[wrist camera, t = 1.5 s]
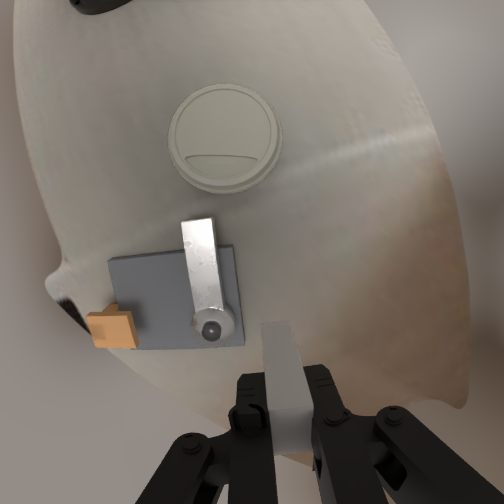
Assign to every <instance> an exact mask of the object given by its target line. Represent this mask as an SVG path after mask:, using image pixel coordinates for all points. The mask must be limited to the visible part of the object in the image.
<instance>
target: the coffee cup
mask: <svg viewBox="0 0 504 504" xmlns="http://www.w3.org/2000/svg"><path fill="white" fill-rule="evenodd" d="M282 141H283V134H282V127H281V123H280V120H279V118H278V115H277V113H276V111H275V110H274V108H273V107H272V105H271V104H270V103H269V102H268V101H267V100H266V99H265V98H264V97H263V96H262V95H260V94H259V93H257V92H256V91H254V90H252V89H250V88H247V87H245V86H241V85H236V84H226V83H223V84H214V85H210V86H207V87H204V88H202V89H200V90H198V91H196V92H194V93H193V94H191V95H190V96H189V97H187V98H186V99H185V100H184V101H183V102H182V104H181V105H180V106H179V107H178V109H177V110H176V112H175V114H174V116H173V118H172V120H171V123H170V126H169V130H168V150H169V154H170V157H171V160H172V162H173V164H174V166H175V168H176V169H177V171H178V172H179V173H180V175H181V176H182V177H183V178H184V179H185V180H186V181H188V182H189V183H190V184H192V185H193V186H195V187H197V188H199V189H201V190H204V191H206V192H210V193H216V194H231V193H237V192H241V191H244V190H246V189H249V188H251V187H253V186H255V185H256V184H258V183H259V182H260V181H262V180H263V179H264V178H265V177H266V176H267V175H268V174H269V173H270V172H271V170H272V169H273V168H274V166H275V164H276V163H277V160H278V158H279V156H280V153H281V149H282Z"/></svg>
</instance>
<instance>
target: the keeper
mask: <svg viewBox="0 0 504 504" xmlns="http://www.w3.org/2000/svg"><path fill="white" fill-rule="evenodd" d="M86 319H87V323H88V326H89V329H90V332H91V335H92V337H93V341H94V343H95V346H96V347H100V348H137V346H138V345H139V339H138V336H137V332H136V329H135V325H134V322H133V318H132V314H131V311H119V308H118V304H110V305H108V306H107V307H106V308H105V309H104V310H103V311H102V312H90V313H89V314H88V315H87V316H86Z"/></svg>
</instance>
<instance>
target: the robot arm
mask: <svg viewBox="0 0 504 504" xmlns="http://www.w3.org/2000/svg"><path fill="white" fill-rule="evenodd" d="M69 1H70V3H71V5H72V6H73V7H74V8H76V9H77V10H78V11H79V12H81V13H83V14H98V13H102V12H106V11H109V10H112V9H114V8H117V7H119V6H121V5H123V4H125V3H127V2H128V1H130V0H69ZM261 334H262V346H263V358H264V370H265V372H261V373H250V374H242V375H241V377H240V378H239V380H238V381H237V395H236V396H237V397H236V405H235V406H234V407H233V408H232V409H231V410H230V411H229V414H228V417H229V421H230V426H231V429H230V430H229V431H228V432H226V433H224V434H222V435H219V436H216V437H212V438H207V437H206V436H205V435H203V434H200V433H187V434H184V435H182V436H180V437H178V438H177V439H176V440H175V441H174V443H173V444H172V446H171V447H170V449H169V451H168V452H167V454H166V456H165V457H164V459H163V460H162V462H161V464H160V465H159V467H158V468H157V470H156V472H155V473H154V475H153V476H152V478H151V479H150V481H149V483H148V484H147V486H146V487H145V489H144V490H143V492H142V494H141V495H140V497H139V498H138V500H137V502H136V503H135V504H217V501H218V499H219V496H220V494H221V491H222V489H223V487H224V485H225V484H229V490H228V504H278V496H277V485H276V474H275V464H274V456H276V455H285V454H293V453H301V452H307V451H312V448H313V453H314V458H313V471H315V472H316V476H317V481H318V486H319V491H320V496H321V501H322V504H389V503H388V501H387V498H386V495H385V493H384V490H383V488H384V489H385V490H386V491H387V493H388V494H389V495H390V497H391V498H392V499H393V500H394V502H395V503H396V504H504V495H503V494H502V493H501V492H500V491H499V490H497V489H496V488H495V487H494V486H493V485H492V484H490V483H489V482H488V481H487V480H486V479H485V478H484V477H482V476H481V475H480V474H479V473H478V472H477V471H475V470H474V469H473V468H472V467H471V466H470V465H469V464H468V463H466V462H465V461H464V460H463V459H462V458H461V457H460V456H459V455H457V454H456V453H455V452H454V451H453V450H452V449H450V448H449V447H448V446H447V445H446V444H445V443H444V442H443V441H441V440H440V439H439V438H438V437H437V436H436V435H435V434H434V433H433V432H431V431H430V430H429V429H428V428H427V427H426V426H425V425H424V424H423V423H421V422H420V421H419V420H418V419H417V418H416V417H415V416H414V415H412V414H411V413H410V412H409V411H408V410H406V409H405V408H403V407H400V406H388V407H385V408H383V409H381V410H380V411H379V412H378V413H377V415H376V416H358V415H354V414H352V413H351V412H350V410H348V409H346V408H345V407H344V405H343V403H342V400H341V398H340V395H339V393H338V390H337V388H336V386H335V384H334V381H333V379H332V376H331V374H330V371H329V369H327V368H326V367H325V366H324V365H322V364H319V365H312V366H305V367H303V366H302V363H301V359H300V356H299V352H298V349H297V345H296V342H295V339H294V335H293V332H292V328H291V325H290V322H289V321H281V322H272V323H262V324H261ZM382 487H383V488H382Z"/></svg>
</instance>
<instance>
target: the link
mask: <svg viewBox="0 0 504 504" xmlns="http://www.w3.org/2000/svg"><path fill="white" fill-rule="evenodd" d="M181 226H182V233H183V240H184V247H185V254H186V260H187V266H188V273H189V279H190V284H191V290H192V296H193V301H194V307H195V313H194V315H193V317H192V320H191V323H190V330H191V333H192V336H193V337H194V338H195V340H196V341H197V342H199V343H200V344H202V345H204V346H206V347H211V348H218V347H222V346H224V345H226V344H228V343H229V342H230V341H231V340H232V338H233V336H234V332H235V322H236V318H235V314H234V312H233V310H232V308H231V307H230V306H229V305H227V304H226V303H225V297H224V290H223V283H222V276H221V269H220V261H219V254H218V246H217V238H216V230H215V222H214V216H213V217H205V218H196V219H188V220H185V221H183V222H181Z"/></svg>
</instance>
